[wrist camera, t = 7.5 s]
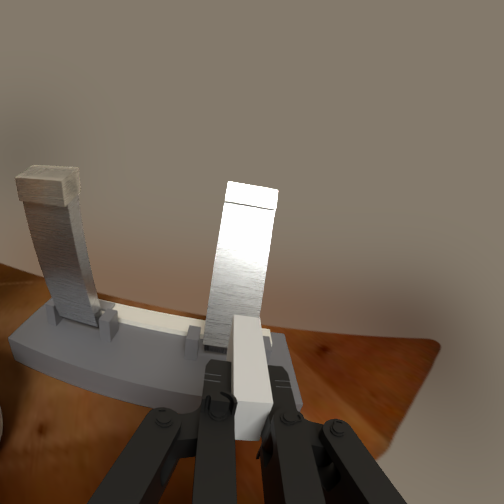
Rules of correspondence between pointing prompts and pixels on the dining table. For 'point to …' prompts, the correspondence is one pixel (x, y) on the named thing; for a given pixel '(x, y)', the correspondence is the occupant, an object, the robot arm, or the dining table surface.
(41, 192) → the lever inner
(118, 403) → the dining table surface
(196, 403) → the grey stand base
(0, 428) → the teacup
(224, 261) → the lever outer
